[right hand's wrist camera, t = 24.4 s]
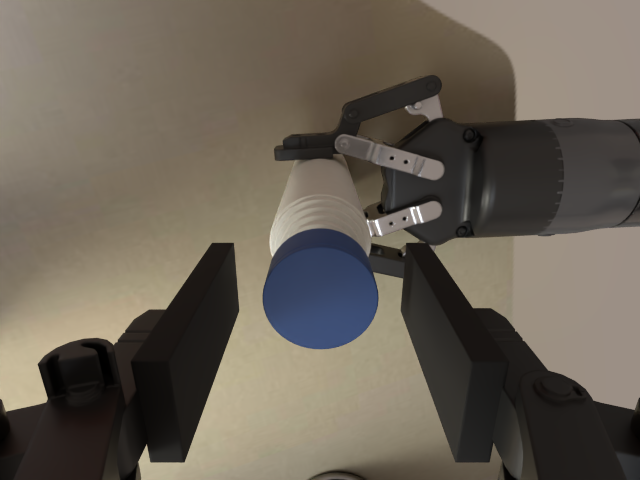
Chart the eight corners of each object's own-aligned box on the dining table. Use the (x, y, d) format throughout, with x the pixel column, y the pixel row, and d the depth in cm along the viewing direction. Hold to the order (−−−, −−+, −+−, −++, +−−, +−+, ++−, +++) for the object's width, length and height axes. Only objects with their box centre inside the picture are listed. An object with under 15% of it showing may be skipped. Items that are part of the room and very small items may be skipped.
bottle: (282, 172, 33) (228, 293, 14) (317, 130, 32) (314, 198, 13) (322, 207, 34) (325, 364, 15) (358, 168, 33) (413, 283, 14)
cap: (266, 315, 15) (259, 344, 14) (272, 222, 14) (265, 241, 12) (364, 324, 15) (369, 354, 14) (378, 232, 14) (387, 253, 12)
